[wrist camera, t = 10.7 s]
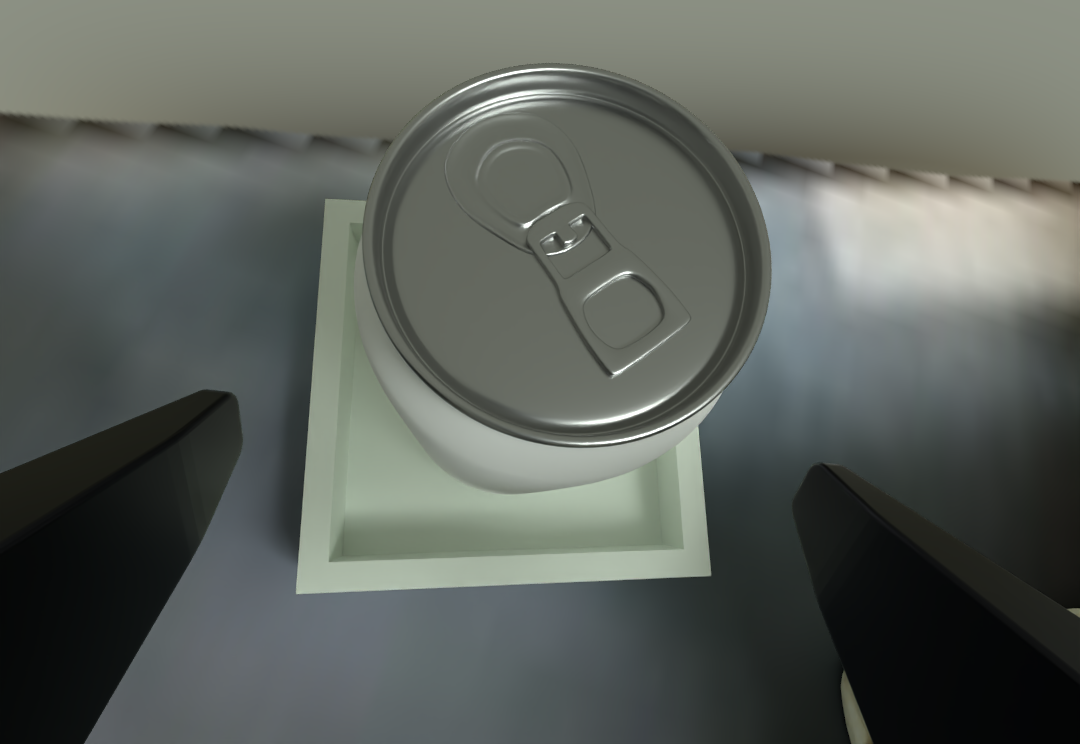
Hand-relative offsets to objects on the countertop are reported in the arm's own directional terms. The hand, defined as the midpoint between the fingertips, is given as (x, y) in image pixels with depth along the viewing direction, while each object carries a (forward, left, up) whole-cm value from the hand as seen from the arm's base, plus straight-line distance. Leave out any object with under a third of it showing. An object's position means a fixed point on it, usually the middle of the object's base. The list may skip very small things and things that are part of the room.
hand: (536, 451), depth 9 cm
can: (+2, -2, -10) cm, 11 cm away
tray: (+2, -2, -11) cm, 11 cm away
